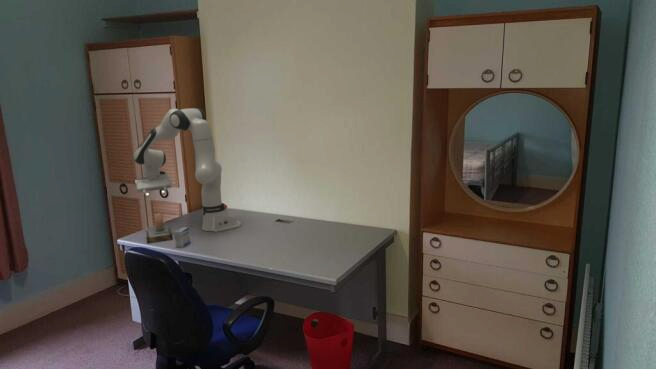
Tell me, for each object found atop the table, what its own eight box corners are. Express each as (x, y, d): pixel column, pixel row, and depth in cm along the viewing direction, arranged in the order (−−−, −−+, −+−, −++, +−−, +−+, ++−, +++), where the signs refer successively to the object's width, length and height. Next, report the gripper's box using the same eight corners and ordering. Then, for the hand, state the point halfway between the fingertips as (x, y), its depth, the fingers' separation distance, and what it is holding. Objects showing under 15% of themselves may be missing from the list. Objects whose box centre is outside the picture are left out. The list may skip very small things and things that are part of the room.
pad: (165, 227, 278) (165, 227, 278) (167, 232, 269) (166, 231, 269) (153, 229, 276) (153, 229, 276) (154, 234, 267) (154, 233, 267)
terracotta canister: (164, 228, 275) (162, 212, 273) (164, 231, 271) (162, 214, 269) (156, 230, 274) (154, 213, 271) (156, 232, 270) (154, 215, 267)
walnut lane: (170, 232, 270) (170, 227, 269) (172, 239, 257) (172, 234, 256) (146, 235, 265) (146, 230, 264) (147, 243, 252) (146, 238, 251)
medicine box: (183, 247, 243) (181, 231, 242) (175, 247, 244) (173, 231, 242) (190, 242, 251) (188, 227, 249) (183, 242, 252) (181, 226, 250)
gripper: (134, 176, 280) (136, 195, 273) (169, 171, 287) (172, 189, 280) (135, 182, 285) (137, 200, 278) (170, 177, 292) (173, 195, 285)
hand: (155, 195), depth 279 cm, fingers open, 8 cm apart
